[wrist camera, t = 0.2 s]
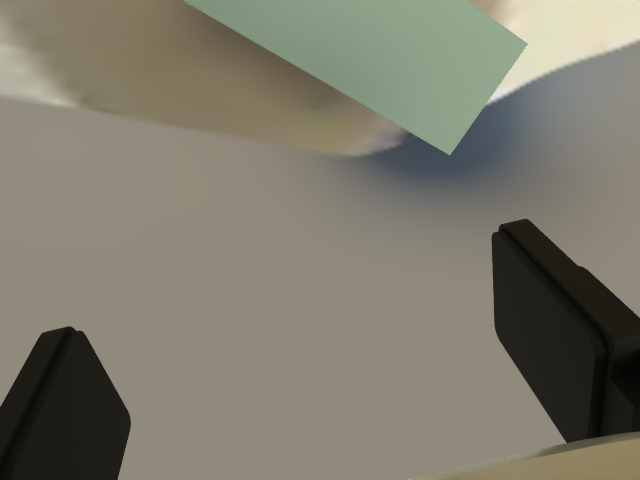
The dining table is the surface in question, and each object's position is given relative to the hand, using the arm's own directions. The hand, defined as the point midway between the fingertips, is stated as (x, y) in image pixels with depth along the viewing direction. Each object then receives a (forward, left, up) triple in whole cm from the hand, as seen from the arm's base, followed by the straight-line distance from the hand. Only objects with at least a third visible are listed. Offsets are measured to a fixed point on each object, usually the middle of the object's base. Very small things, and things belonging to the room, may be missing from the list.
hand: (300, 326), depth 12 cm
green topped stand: (-7, +1, -31) cm, 32 cm away
